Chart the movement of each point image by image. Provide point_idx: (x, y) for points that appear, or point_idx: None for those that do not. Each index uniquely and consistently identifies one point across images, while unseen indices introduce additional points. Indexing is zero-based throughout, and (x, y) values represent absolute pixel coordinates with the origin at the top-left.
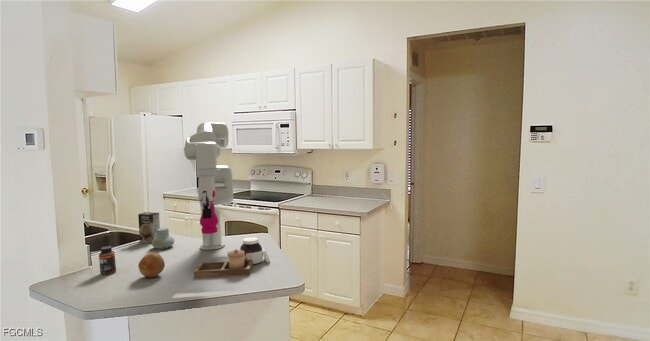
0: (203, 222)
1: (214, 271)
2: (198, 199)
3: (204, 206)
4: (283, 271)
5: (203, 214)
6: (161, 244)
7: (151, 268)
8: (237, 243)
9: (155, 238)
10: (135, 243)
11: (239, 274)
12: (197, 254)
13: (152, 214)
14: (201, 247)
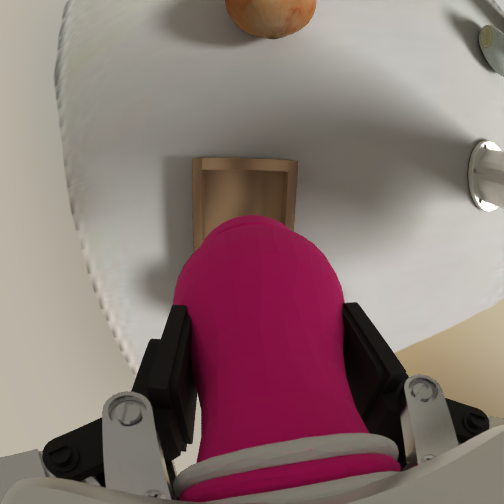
0: (178, 282)
1: (193, 232)
2: (5, 501)
3: (85, 442)
4: None
5: (164, 336)
6: (486, 43)
7: (227, 9)
8: (487, 242)
9: (499, 31)
10: (498, 9)
11: None
12: (445, 132)
13: None
14: (479, 145)
